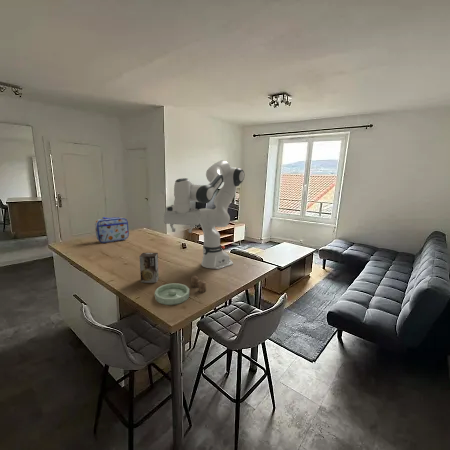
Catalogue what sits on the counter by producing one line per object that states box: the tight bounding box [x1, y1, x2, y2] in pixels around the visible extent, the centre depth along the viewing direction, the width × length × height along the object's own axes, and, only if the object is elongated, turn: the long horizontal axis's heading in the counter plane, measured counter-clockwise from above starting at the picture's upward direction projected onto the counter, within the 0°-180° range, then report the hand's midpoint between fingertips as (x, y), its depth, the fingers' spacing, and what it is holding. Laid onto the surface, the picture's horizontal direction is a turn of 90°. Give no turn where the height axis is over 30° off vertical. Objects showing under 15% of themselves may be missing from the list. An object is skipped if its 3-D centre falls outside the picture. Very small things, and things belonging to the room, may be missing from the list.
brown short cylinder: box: [197, 280, 207, 293], centre depth 131 cm, size 4×4×5 cm
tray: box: [154, 282, 191, 306], centre depth 124 cm, size 17×17×3 cm
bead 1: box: [190, 275, 199, 289], centre depth 136 cm, size 4×4×5 cm
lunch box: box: [94, 216, 130, 244], centre depth 216 cm, size 28×10×22 cm, turn 130°
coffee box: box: [139, 252, 160, 284], centre depth 140 cm, size 9×6×16 cm
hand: (181, 232), depth 138 cm, fingers open, 8 cm apart
